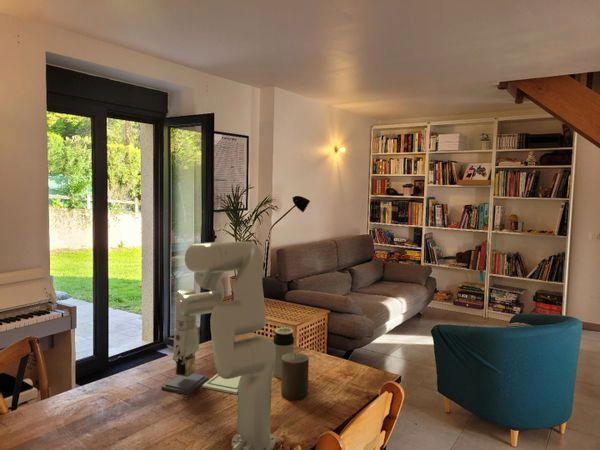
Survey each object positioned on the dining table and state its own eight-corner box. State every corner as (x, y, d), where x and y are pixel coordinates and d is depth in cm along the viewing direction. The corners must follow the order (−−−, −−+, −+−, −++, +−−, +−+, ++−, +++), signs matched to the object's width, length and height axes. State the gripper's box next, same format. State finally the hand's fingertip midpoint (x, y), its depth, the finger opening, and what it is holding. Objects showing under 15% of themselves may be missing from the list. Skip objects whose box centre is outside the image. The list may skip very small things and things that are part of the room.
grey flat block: (187, 394, 163) (187, 390, 163) (161, 389, 167) (161, 385, 167) (208, 379, 176) (208, 375, 176) (183, 374, 180) (183, 370, 180)
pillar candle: (305, 402, 160) (306, 360, 159) (277, 398, 162) (278, 357, 160) (310, 390, 169) (311, 350, 168) (284, 387, 171) (285, 347, 170)
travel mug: (297, 375, 182) (298, 330, 180) (281, 380, 177) (282, 335, 175) (283, 368, 188) (285, 325, 186) (268, 374, 182) (269, 329, 181)
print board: (236, 394, 164) (236, 391, 164) (202, 387, 169) (202, 384, 169) (255, 376, 180) (255, 374, 179) (223, 370, 184) (223, 368, 184)
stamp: (187, 376, 168) (187, 355, 167) (175, 374, 170) (175, 353, 169) (194, 371, 173) (195, 350, 172) (183, 369, 174) (183, 348, 174)
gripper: (181, 331, 160) (180, 382, 162) (207, 318, 176) (206, 364, 178) (162, 328, 163) (162, 378, 164) (190, 315, 179) (189, 361, 180)
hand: (185, 370), depth 171 cm, fingers closed on stamp, 5 cm apart
